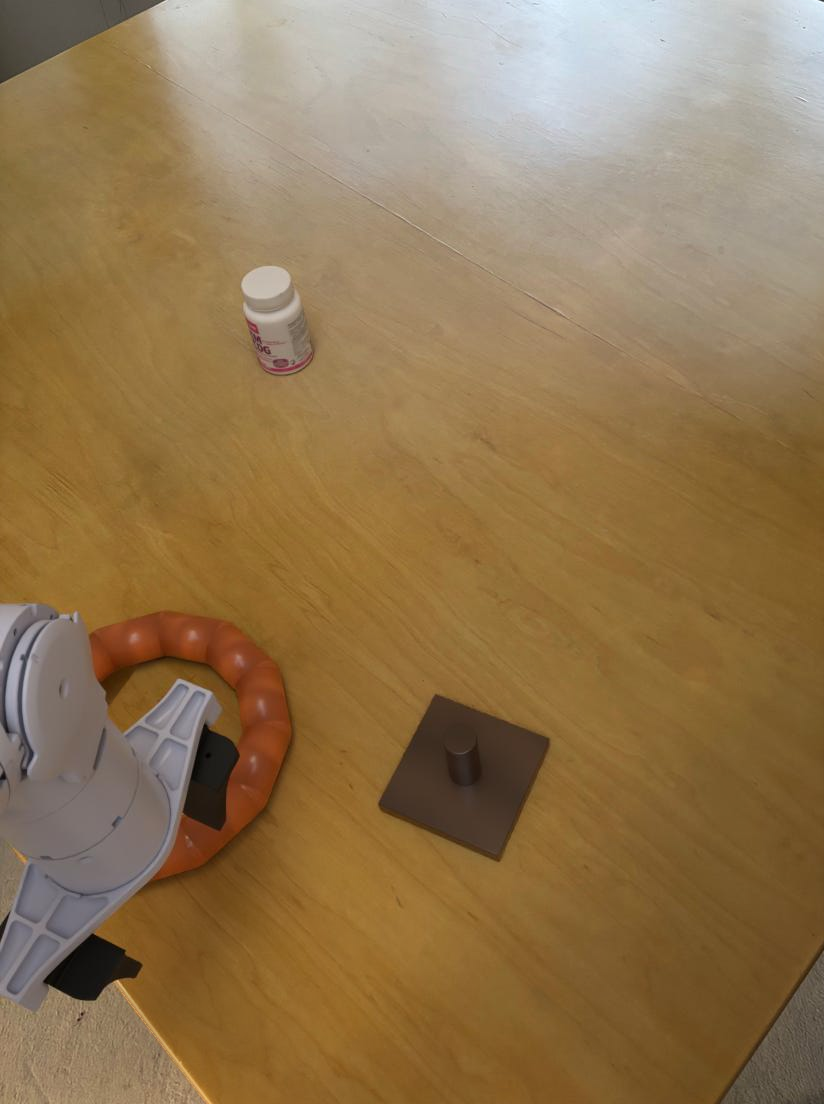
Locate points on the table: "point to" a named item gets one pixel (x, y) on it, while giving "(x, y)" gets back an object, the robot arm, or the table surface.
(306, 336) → the pill bottle
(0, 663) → the robot arm
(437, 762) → the square peg base
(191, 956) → the table surface
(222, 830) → the ring
